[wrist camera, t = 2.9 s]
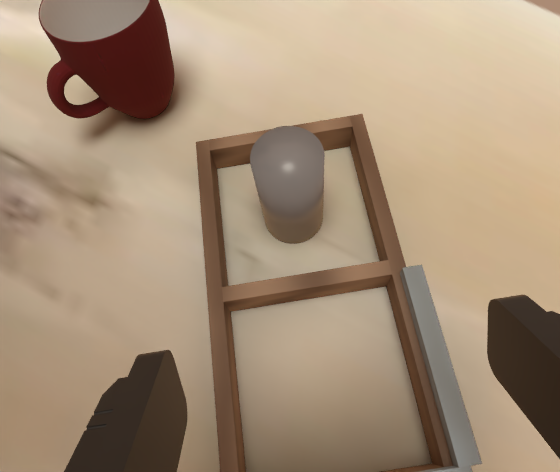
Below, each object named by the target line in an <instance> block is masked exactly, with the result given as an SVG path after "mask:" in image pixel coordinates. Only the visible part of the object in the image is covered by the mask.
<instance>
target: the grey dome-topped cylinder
mask: <svg viewBox="0 0 560 472" xmlns="http://www.w3.org/2000/svg"><path fill="white" fill-rule="evenodd" d="M250 164H251V168H252V172H253V176H254V180H255V184H256V188H257V192H258V195H259V199H260V203H261V207H262V211H263V215H264V219H265V223H266V226H267V229H268V231H269V232H270V233H271V234H272V235H273V236H274V237H275V238H276V239H278V240H280V241H282V242H285V243H294V244H295V243H301V242H304V241H307V240H309V239H310V238H312V237H313V236H314V235H315V234H316V233H317V232H318V231H319V229H320V227H321V224H322V220H323V189H324V149H323V146H322V144H321V142H320V140H319V139H318V138H317V137H316V136H315V135H314V134H313V133H311V132H310V131H308V130H306V129H303V128H300V127H296V126H282V127H277V128H274V129H272V130H270V131H268V132H266V133H264V134H263V135H262V136H261V137H260V138H259V139H258V140H257V141H256V142H255V144H254V145H253V147H252V150H251V154H250Z"/></svg>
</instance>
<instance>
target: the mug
mask: <svg viewBox="0 0 560 472" xmlns="http://www.w3.org/2000/svg"><path fill="white" fill-rule="evenodd" d="M39 21H40V24H41V26H42V28H43V30H44V31H45V33H46V34H47V36H48V37H49V39H50V40H51V42H52V43H53V45H54V47H55V48H56V50H57V51H58V53H59V55H60V57H61V60H60V61H59V62H58V63H56V64H55V65H54V66H53V67H52V68H51V70H50V72H49V74H48V77H47V90H48V94H49V97H50V99H51V101H52V102H53V104H54V105H55V106H56V107H57V108H58V109H59V110H60V111H61V112H63V113H64V114H66V115H68V116H71V117H74V118H87V117H91V116H93V115H96V114H98V113H100V112H101V111H103V110H105V109H106V108H108V107H112V108H114V109H116V110H119V111H121V112H123V113H126V114H128V115H130V116H133V117H135V118H140V119H148V118H152V117H155V116H157V115H159V114H160V113H161V112H163V111H164V110H165V109H166V107H167V106H168V104H169V101H170V97H171V93H172V89H173V84H174V67H173V61H172V56H171V50H170V44H169V39H168V33H167V28H166V23H165V19H164V15H163V12H162V9H161V6H160V4H159V1H158V0H42V2H41V5H40V8H39ZM73 75H78V76H79V77H80V78H82V79H83V80H84V81H85V82H86V83H87V84H88V85H89V86H90V87H91V88H92V89H93V90H94V91H95V92H96V93H97V95H98V96H99V98H97V99H96V100H94V101H92V102H89V103H87V104H83V105H73V104H71V103H69V102H68V101H67V100H66V98H65V95H64V86H65V84H66V82H67V80H68V79H69V78H71V77H72V76H73Z"/></svg>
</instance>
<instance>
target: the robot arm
mask: <svg viewBox="0 0 560 472" xmlns="http://www.w3.org/2000/svg"><path fill="white" fill-rule="evenodd" d="M487 354H488V360H489V364H490V367H491V369H492V371H493V373H494V375H495V377H496V378H497V380H498V381H499V382H500V383H501V385H502V386H503V387H504V389H505V390H506V391H507V392H508V394H509V395H510V396H511V397H512V399H513V400H514V401H515V403H516V404H517V405H518V406H519V408H520V409H521V410H522V412H523V413H524V414H525V415H526V417H527V418H528V419H529V420H530V422H531V423H532V424H533V426H534V427H535V428H536V429H537V431H538V432H539V433H540V434H541V436H542V437H543V438H544V440H545V441H546V442H547V443H548V445H549V446H550V447H551V449H552V450H553V451H554V452H555V454H556V455H557V456H558V457H559V459H560V314H558V313H555V312H553V311H550V312H546V311H545V310H544V309H542V308H541V307H540V306H539V305H538V304H536V303H535V302H534V301H533V300H531V299H530V298H529V297H528V296H526V295H517V296H511V297H505V298H498V299H493V300H491V301H490V303H489V306H488V342H487ZM186 425H187V404H186V398H185V395H184V391H183V388H182V385H181V381H180V378H179V375H178V371H177V368H176V364H175V361H174V358H173V355H172V353H171V352H170V351H169V350H165V351H158V352H152V353H146V354H139V355H138V356H137V357H136V359H135V362H134V364H133V366H132V368H131V371H130V373H129V375H128V377H125V378H119V379H118V380H117V381H116V382H115V383H114V384H113V385H112V386H111V387H110V388H109V389H108V390H107V391H106V392H105V393H104V394H103V395H102V397H101V399H100V401H99V403H98V405H97V407H96V409H95V411H94V416H92V417H91V419H90V421H89V423H88V425H87V430H86V431H84V433H83V435H82V437H81V439H80V441H79V443H78V445H77V447H76V449H75V451H74V453H73V455H72V457H71V459H70V461H69V463H68V465H67V467H66V469H65V471H64V472H177V467H178V463H179V458H180V453H181V449H182V444H183V439H184V435H185V430H186Z"/></svg>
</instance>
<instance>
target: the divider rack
mask: <svg viewBox="0 0 560 472" xmlns="http://www.w3.org/2000/svg"><path fill="white" fill-rule="evenodd" d="M294 126H296V127H300V128H303V129H306V130H308V131H310V132H311V133H313V134H314V135H315V136H316V137H317V138H318V139H319V140H320V142H321V144H322V146H323V149H324V150H330V149H336V148H342V147H348V146H350V148H351V152H352V156H353V160H354V164H355V167H356V171H357V175H358V179H359V183H360V187H361V190H362V194H363V198H364V202H365V206H366V210H367V214H368V217H369V221H370V225H371V229H372V233H373V237H374V240H375V244H376V248H377V252H378V256H379V260H380V261H379V262H373V263H367V264H361V265H355V266H348V267H342V268H336V269H330V270H324V271H318V272H312V273H306V274H300V275H294V276H287V277H281V278H275V279H269V280H263V281H257V282H251V283H245V284H239V285H232V286H228V280H227V270H226V259H225V249H224V239H223V228H222V218H221V207H220V197H219V187H218V176H217V168H223V167H229V166H235V165H241V164H247V163H250V154H251V150H252V147H253V145H254V144H255V142H256V141H257V140H258V139H259V138H260V137H261V136H262V135H263V134H264V133H266V132H268V131H270V130H272V129H270V130H264V131H259V132H253V133H247V134H241V135H235V136H229V137H223V138H217V139H211V140H205V141H199V142H196V149H197V162H198V176H199V189H200V203H201V216H202V230H203V243H204V257H205V270H206V284H207V297H208V311H209V324H210V338H211V351H212V365H213V378H214V392H215V405H216V419H217V432H218V446H219V459H220V472H246V467H245V457H244V446H243V436H242V425H241V415H240V405H239V394H238V384H237V373H236V363H235V353H234V342H233V332H232V322H231V311H236V310H242V309H249V308H255V307H261V306H267V305H273V304H279V303H285V302H292V301H298V300H304V299H310V298H316V297H322V296H328V295H335V294H341V293H347V292H353V291H359V290H365V289H371V288H378V287H384V286H386V287H387V290H388V294H389V298H390V302H391V306H392V310H393V314H394V317H395V321H396V325H397V329H398V333H399V337H400V340H401V344H402V348H403V352H404V356H405V360H406V364H407V367H408V371H409V375H410V379H411V383H412V387H413V390H414V394H415V398H416V402H417V406H418V410H419V414H420V417H421V421H422V425H423V429H424V433H425V437H426V441H427V444H428V448H429V452H430V456H431V460H432V464H426V465H420V466H413V467H407V468H400V469H394V470H388V471H381V472H472V469H471V465H478V464H482V461H481V458H480V455H479V452H478V448H477V445H476V442H475V438H474V435H473V432H472V428H471V425H470V422H469V419H468V415H467V412H466V409H465V405H464V402H463V399H462V395H461V392H460V389H459V386H458V382H457V379H456V376H455V372H454V369H453V366H452V363H451V359H450V356H449V353H448V349H447V346H446V343H445V339H444V336H443V333H442V330H441V326H440V323H439V320H438V316H437V313H436V310H435V306H434V303H433V300H432V297H431V293H430V290H429V287H428V283H427V280H426V277H425V274H424V270H423V267H422V265H417V266H411V267H406V265H405V261H404V258H403V254H402V251H401V247H400V244H399V240H398V237H397V233H396V230H395V226H394V223H393V219H392V216H391V212H390V209H389V205H388V202H387V198H386V195H385V191H384V188H383V184H382V181H381V177H380V174H379V170H378V167H377V163H376V160H375V156H374V153H373V149H372V146H371V142H370V139H369V135H368V132H367V128H366V125H365V121H364V118H363V114H359V115H353V116H347V117H341V118H335V119H330V120H324V121H318V122H312V123H306V124H300V125H294Z"/></svg>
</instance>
